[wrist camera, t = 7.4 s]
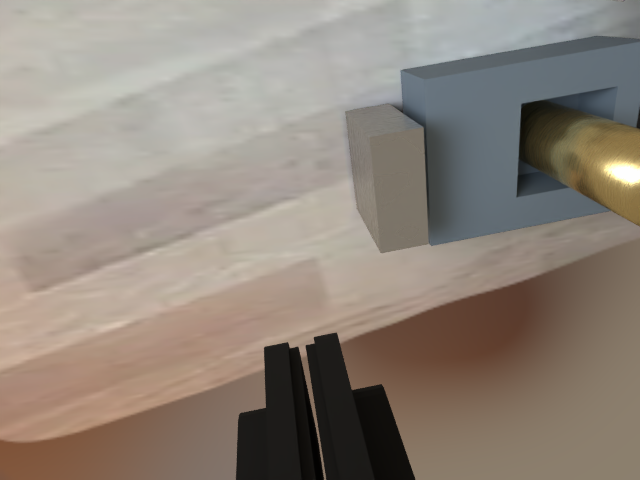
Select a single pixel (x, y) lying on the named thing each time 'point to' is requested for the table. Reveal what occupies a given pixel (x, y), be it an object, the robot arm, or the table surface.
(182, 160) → the table surface
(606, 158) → the peg
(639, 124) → the grey slotted block
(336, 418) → the robot arm
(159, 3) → the table surface
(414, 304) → the table surface
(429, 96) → the socket block
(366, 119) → the plug block
